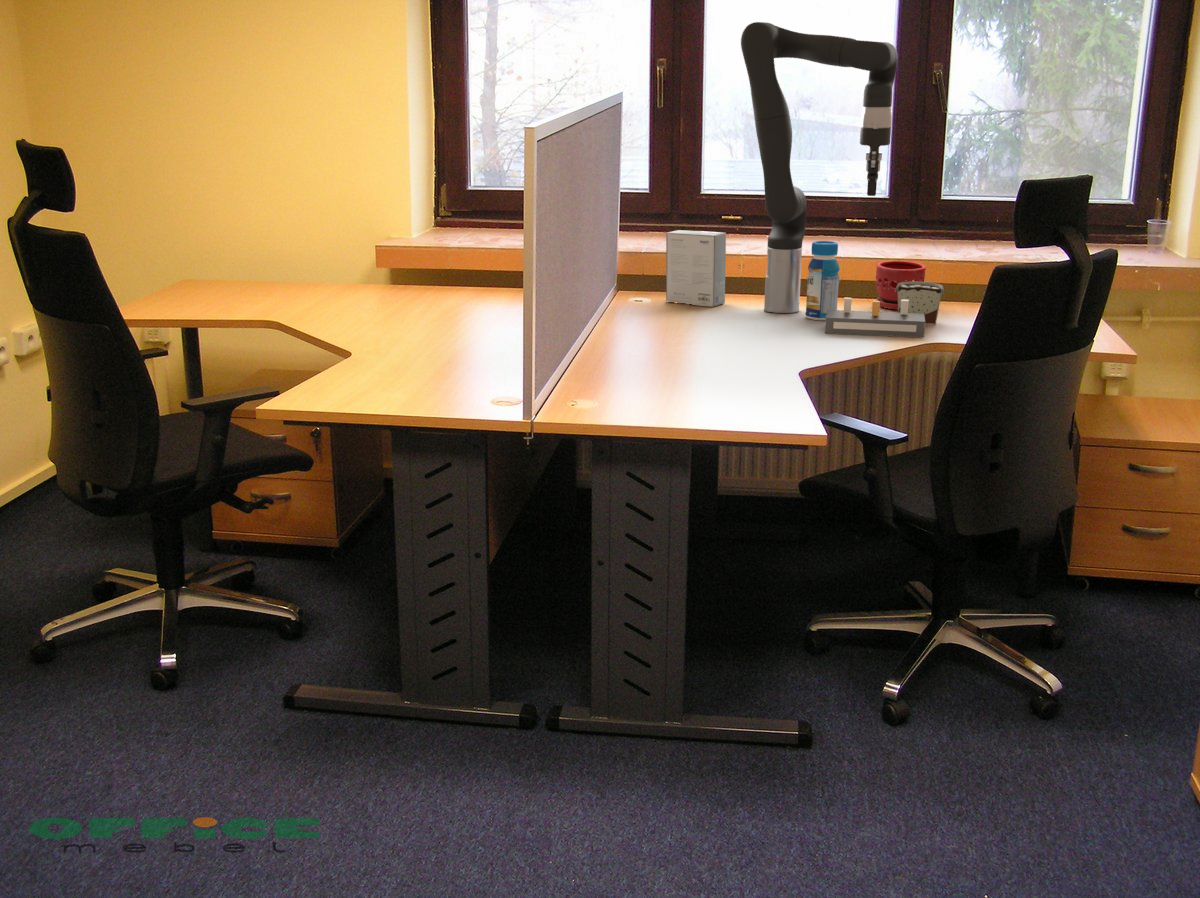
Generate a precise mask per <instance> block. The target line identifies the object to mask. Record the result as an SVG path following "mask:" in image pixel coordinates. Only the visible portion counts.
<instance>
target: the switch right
mask: <svg viewBox="0 0 1200 898" xmlns="http://www.w3.org/2000/svg"><path fill="white" fill-rule="evenodd" d="M908 305H909V300H901V311H900V314H903V315H908Z"/></svg>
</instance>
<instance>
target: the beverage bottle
mask: <svg viewBox="0 0 1200 898" xmlns="http://www.w3.org/2000/svg"><path fill="white" fill-rule="evenodd" d="M838 244H839V243H838V242H837V241H833V240H832V241H831V240H816V241H812V243H811V255H812V256H813V257H812V258H811V260H810V261H809V263H808V266H807V270H808V274H807V276H806V283H807V284H806V301H805V302H806V304H805V305H806V306H805V317H806V318H807V319H808V320H813V321H820V322H821V321H823V322H824V321H825V322H826V315H827V311H828V310H838V301H839V300H838V299H839V297H838V295H839V283H840V275H839V272H840V264H839V262H838V260H837V259H836V256H838V252H839V245H838Z"/></svg>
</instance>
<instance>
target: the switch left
mask: <svg viewBox="0 0 1200 898" xmlns="http://www.w3.org/2000/svg"><path fill="white" fill-rule="evenodd" d="M843 298H844V299H843V310H844V312H851V311H852V300H853V298H852V297H843Z"/></svg>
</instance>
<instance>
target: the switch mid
mask: <svg viewBox="0 0 1200 898" xmlns="http://www.w3.org/2000/svg"><path fill="white" fill-rule="evenodd" d="M871 307H872V308H871V312H872V316H879V312H880V309H881V306H880V301H876V300H872V303H871Z"/></svg>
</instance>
